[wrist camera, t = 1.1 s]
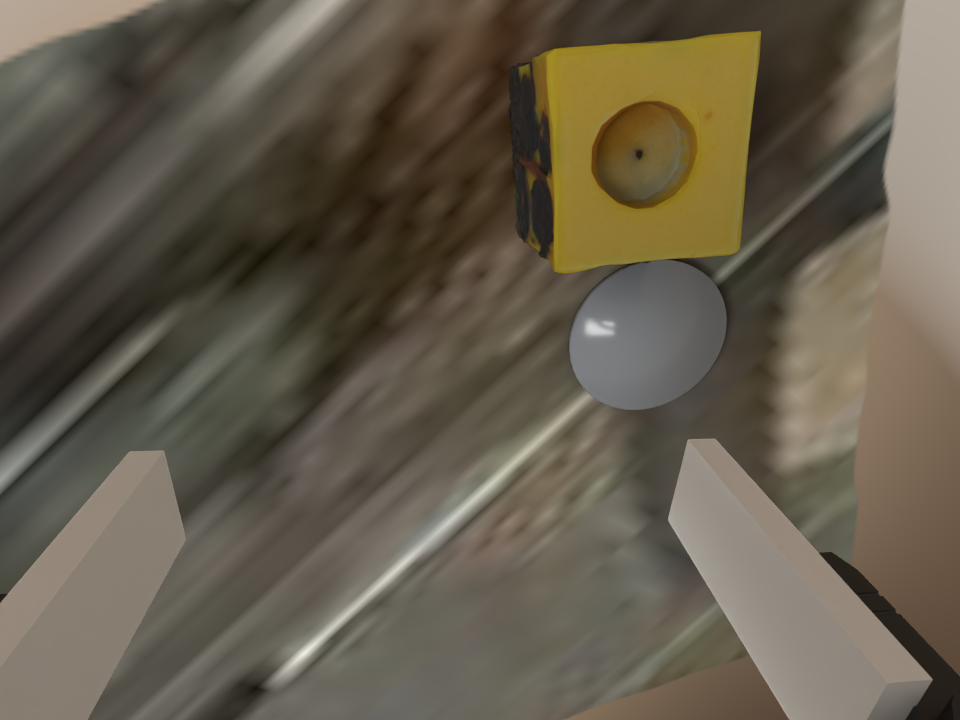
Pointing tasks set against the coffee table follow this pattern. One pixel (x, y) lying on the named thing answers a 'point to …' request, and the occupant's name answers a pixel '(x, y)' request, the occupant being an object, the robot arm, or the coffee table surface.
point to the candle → (633, 149)
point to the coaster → (647, 334)
